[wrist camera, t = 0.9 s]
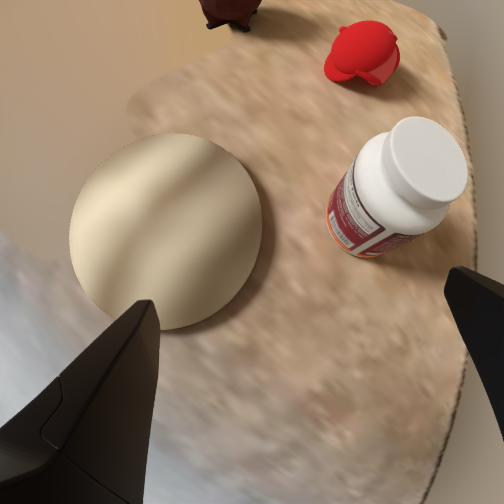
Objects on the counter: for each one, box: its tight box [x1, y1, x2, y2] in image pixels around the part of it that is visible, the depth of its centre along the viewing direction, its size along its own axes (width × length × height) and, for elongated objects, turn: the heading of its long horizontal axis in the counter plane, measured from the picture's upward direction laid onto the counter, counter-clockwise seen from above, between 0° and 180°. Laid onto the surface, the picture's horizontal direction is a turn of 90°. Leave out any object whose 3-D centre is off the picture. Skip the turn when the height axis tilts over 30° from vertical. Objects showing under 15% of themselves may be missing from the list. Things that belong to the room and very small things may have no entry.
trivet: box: [69, 133, 263, 330], centre depth 22 cm, size 15×15×1 cm
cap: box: [324, 21, 400, 86], centre depth 24 cm, size 8×6×6 cm
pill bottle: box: [326, 117, 468, 258], centre depth 18 cm, size 6×6×11 cm
